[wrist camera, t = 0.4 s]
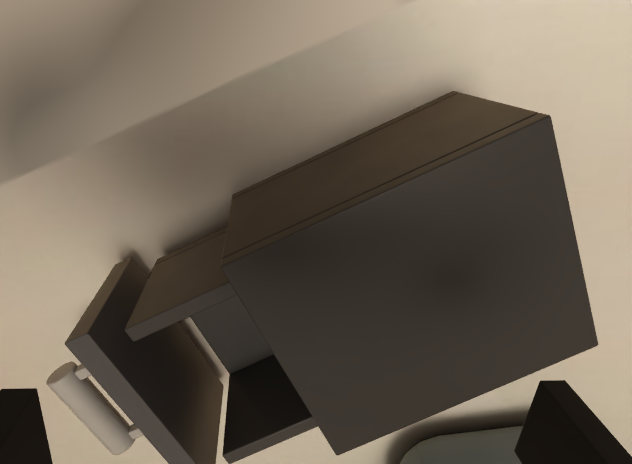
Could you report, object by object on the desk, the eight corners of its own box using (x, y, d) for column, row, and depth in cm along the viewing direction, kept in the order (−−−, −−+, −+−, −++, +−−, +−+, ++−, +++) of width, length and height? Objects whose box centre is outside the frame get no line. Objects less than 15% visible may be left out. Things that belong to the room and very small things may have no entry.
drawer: (155, 415, 32) (125, 522, 25) (53, 293, 27) (-20, 381, 20) (383, 315, 31) (420, 397, 24) (316, 170, 26) (338, 218, 19)
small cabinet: (315, 344, 32) (336, 456, 24) (231, 194, 27) (219, 267, 18) (504, 260, 31) (599, 345, 23) (454, 90, 26) (551, 114, 18)
